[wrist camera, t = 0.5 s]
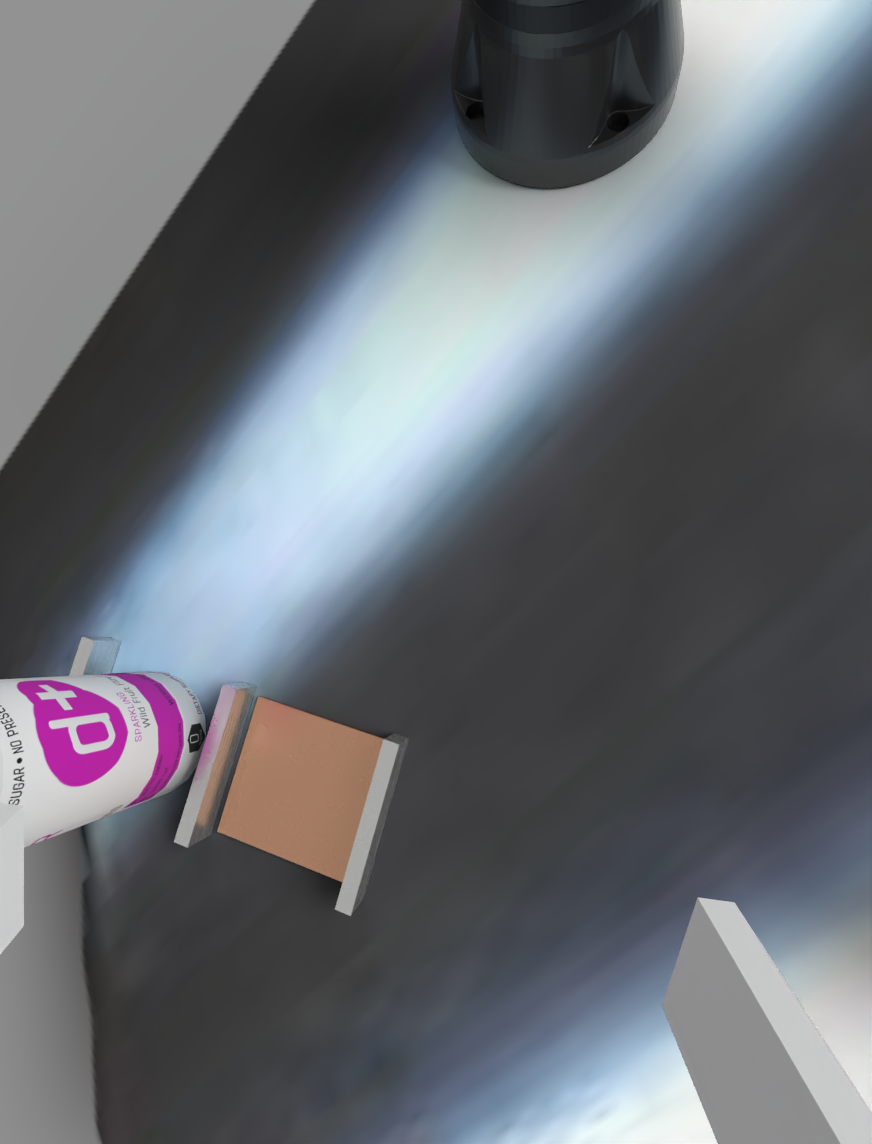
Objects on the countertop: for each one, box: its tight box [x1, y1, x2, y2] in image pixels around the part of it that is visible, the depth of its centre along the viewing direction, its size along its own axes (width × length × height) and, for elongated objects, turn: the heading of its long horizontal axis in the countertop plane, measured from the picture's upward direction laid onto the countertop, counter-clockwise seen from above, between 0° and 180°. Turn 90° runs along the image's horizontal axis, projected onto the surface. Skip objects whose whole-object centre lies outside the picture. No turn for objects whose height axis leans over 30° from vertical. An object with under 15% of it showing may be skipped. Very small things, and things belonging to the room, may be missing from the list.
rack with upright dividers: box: [69, 636, 409, 916], centre depth 37 cm, size 10×23×2 cm, turn 74°
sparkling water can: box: [0, 672, 206, 848], centre depth 32 cm, size 8×8×15 cm
